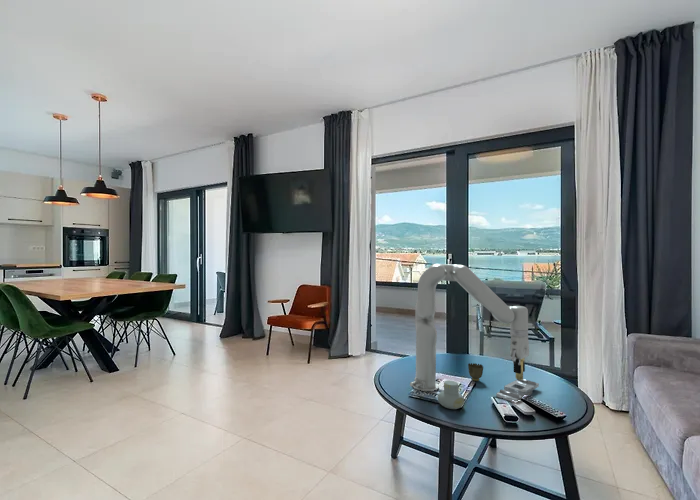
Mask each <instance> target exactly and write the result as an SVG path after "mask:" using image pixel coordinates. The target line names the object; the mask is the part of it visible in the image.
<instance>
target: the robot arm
mask: <svg viewBox="0 0 700 500" xmlns="http://www.w3.org/2000/svg"><path fill="white" fill-rule="evenodd" d="M442 281H444V282H446V281H447V282H457V283H458V284H459V285H460V287H462V288H463V289H464V290H465V292H467V293H468V294H469V295H470V296H471V298H473V299H474V300H475V301H476V302H477V303H479V304H481V305H482V306H483V307H484V308H485V309H487V311H489V312H490V313H491V315H492V317H493V319H495V320H497V321H498V322H499V323H501V324H505V325H508V324H509V333H510V334H509V335H510V347H509V348H510V350H509V351H510V352H509V355H510V357H511V361H512V365H513V373H514V374H516V373H519V374H521V365H520V359H523V358H524V359H525V360H524V361H523V373H524V372H525V371H526V358H527V357H529V356H530V344H529V343H530V341H529V309H528V307H526V306H523V305H513V306H512V305H507V304H506V303H505V301H503V299H501V298H500V297H499V296H498V295H497V294H496V293H495V292H494V291H493V290H492V289H491V288H490V287H489V286H488V285H487V284H485V283H484V282H483V281H482V280H481V278H479V277H478V276H477V275H476V274H475V273H474V272H473V271H472V270H471V269H470V267H468V266H467V265H463V264H446V263H445V264H444V263H433V264H431V265H429V267H428V268H427V269H426V270H425V271H424V272H423V273H422V274H421V275H420V277H419V279H418V282H417V283H418V284H417V294H416V295H417V296H416V297H417V299H416V303H415V307H414V308H415V312H414V314H415V318H414V319H415V323H414V324H415V332H416V333H415V335H416V336H415V340H416V341H415V377H414V381H410V383H409V386H410V388H411V387H413V388H414V389H415V390H417V391H420V390H421V392H427V391H431V392H435V391H434V390H436V391H437V389H438V388H439V389H440V385H439V384H438V382H437V381H436V379H437V375H436V374H437V373H436V372H437V338H438V334H437V327H436V326H435V314H436V310H437V306H436V290H437V289H436V288H437V285H438V284H439V283H441V282H442ZM516 356H517V357H518V358H517V357H516ZM516 359H518V360H516ZM439 389H438V390H439Z"/></svg>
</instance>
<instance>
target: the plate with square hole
mask: <svg viewBox="0 0 700 500" xmlns="http://www.w3.org/2000/svg"><path fill="white" fill-rule="evenodd" d="M503 386H504V387H503V388H504V389H500V390H499V391H498V392H496V395H495V396H496V397H497V398H499V399H502V398H503V399H502V400H505V401H508V402H511V401H512V400H514V401H518V400H521V399H522V397H523V396H524V395H529V396H531V395H533V391H534V390H536V389H537V388H539V387H540V384H539V383H538V382H535V381H533V380H532V381H531V380H528V379H525V378H523V380H519V379H516V380H514V381H512V382H509V383H508V384H505V385H503ZM521 401H522V400H521Z"/></svg>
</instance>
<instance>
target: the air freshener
mask: <svg viewBox="0 0 700 500" xmlns="http://www.w3.org/2000/svg"><path fill="white" fill-rule="evenodd" d="M437 401H438V403H439V404H440V405H441V406H442V407H444V408H446V409H450V410H457V409H460V408H462V407H463V406H464V404H465V397H464V396H463V395H462V393H460V392H459V383H458V382H457V381H455V380H445V381H444V382H443V390H442V391H441V392H439V393H438V395H437Z"/></svg>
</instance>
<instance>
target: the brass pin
mask: <svg viewBox="0 0 700 500" xmlns="http://www.w3.org/2000/svg"><path fill="white" fill-rule="evenodd" d="M516 357H517V356H516ZM517 358H518V357H517ZM516 360H518V359H516ZM524 360H525V361H526V358H525V359H524V358H523V359H520V365H521V374H519V373H515V379H516V380H517V379H519V380H523V379H524V372H523V361H524Z"/></svg>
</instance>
